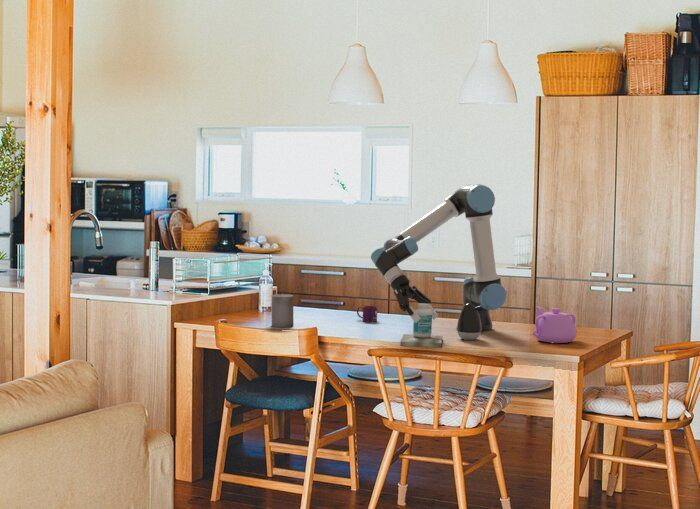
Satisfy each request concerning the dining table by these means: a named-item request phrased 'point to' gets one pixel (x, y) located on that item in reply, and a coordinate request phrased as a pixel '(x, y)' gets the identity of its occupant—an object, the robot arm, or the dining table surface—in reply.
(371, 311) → the mug
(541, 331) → the teapot
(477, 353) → the dining table surface
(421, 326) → the pill bottle
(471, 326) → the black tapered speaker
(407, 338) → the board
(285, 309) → the pillar candle
